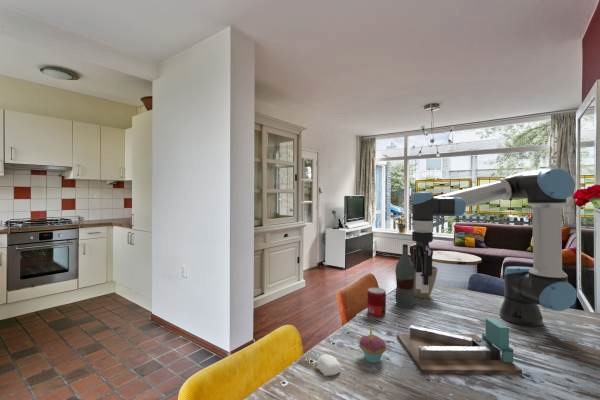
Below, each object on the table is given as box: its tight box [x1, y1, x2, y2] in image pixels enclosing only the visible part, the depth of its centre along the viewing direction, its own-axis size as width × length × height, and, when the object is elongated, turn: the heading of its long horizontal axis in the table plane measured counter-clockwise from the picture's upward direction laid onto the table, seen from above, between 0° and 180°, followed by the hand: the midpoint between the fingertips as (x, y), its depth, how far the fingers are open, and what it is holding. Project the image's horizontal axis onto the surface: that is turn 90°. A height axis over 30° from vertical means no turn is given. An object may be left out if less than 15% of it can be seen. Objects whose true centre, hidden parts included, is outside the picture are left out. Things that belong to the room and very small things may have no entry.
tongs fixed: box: [419, 338, 501, 360], centre depth 96 cm, size 25×7×3 cm, turn 90°
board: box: [396, 333, 523, 375], centre depth 98 cm, size 30×23×1 cm
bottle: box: [394, 243, 416, 309], centre depth 143 cm, size 9×9×30 cm
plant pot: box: [414, 265, 438, 299], centre depth 156 cm, size 15×15×16 cm
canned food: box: [367, 287, 387, 318], centre depth 132 cm, size 8×8×11 cm
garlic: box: [315, 353, 342, 377], centre depth 89 cm, size 8×7×4 cm
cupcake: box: [359, 324, 387, 364], centre depth 95 cm, size 9×8×12 cm
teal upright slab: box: [481, 318, 514, 363], centre depth 96 cm, size 3×11×10 cm, turn 0°
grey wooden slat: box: [409, 324, 472, 347], centre depth 104 cm, size 20×2×3 cm, turn 60°
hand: (422, 290), depth 113 cm, fingers open, 4 cm apart
